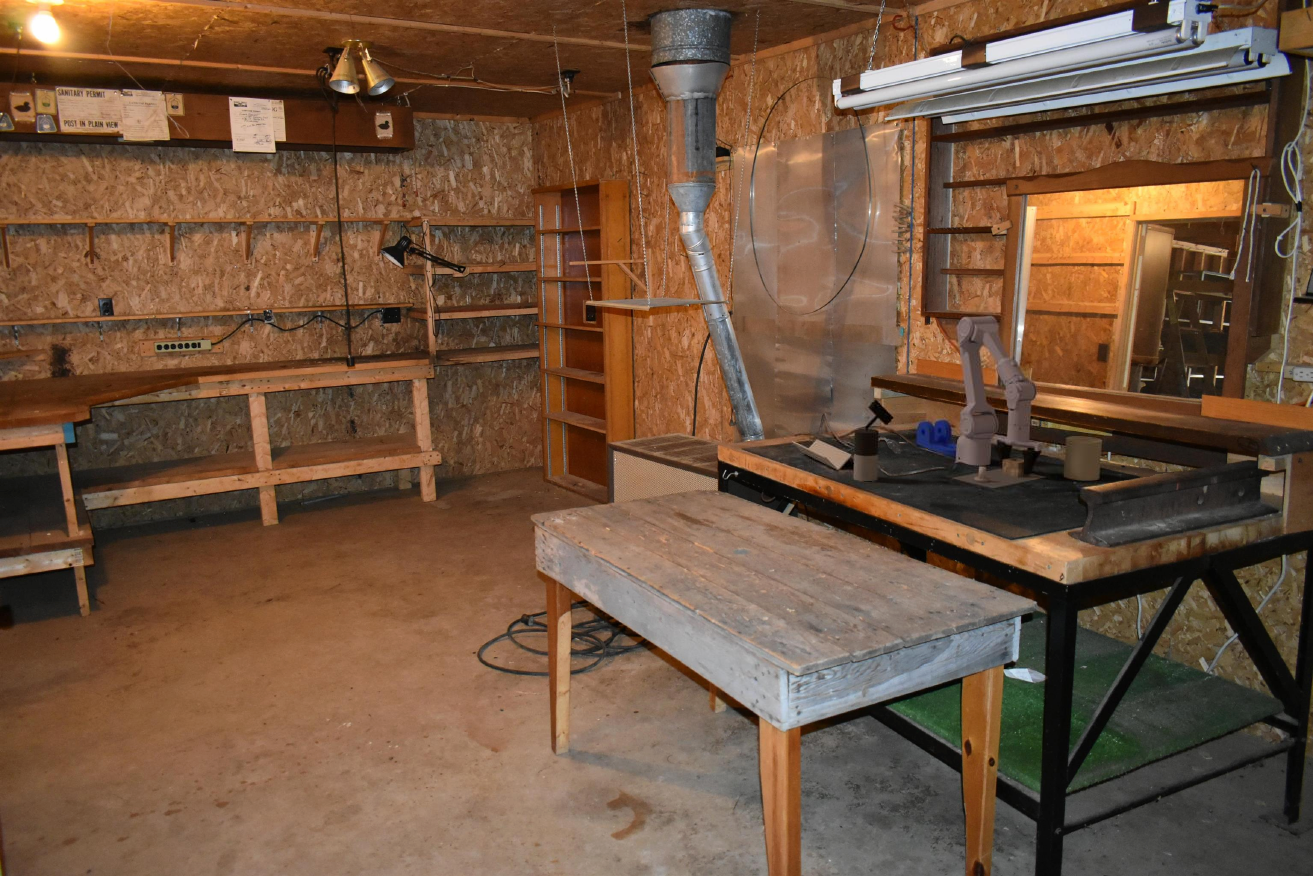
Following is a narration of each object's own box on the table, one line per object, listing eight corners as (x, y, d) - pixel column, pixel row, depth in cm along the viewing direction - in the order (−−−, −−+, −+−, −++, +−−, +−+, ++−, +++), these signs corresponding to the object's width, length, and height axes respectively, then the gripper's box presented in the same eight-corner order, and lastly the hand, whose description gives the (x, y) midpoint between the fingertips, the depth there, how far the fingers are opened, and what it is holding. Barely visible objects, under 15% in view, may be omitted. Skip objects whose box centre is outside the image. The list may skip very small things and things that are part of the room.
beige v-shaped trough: (816, 466, 297) (829, 451, 298) (850, 483, 274) (864, 468, 274) (791, 441, 294) (804, 427, 294) (824, 457, 270) (838, 441, 270)
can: (1078, 485, 249) (1081, 441, 247) (1055, 477, 258) (1058, 435, 256) (1107, 482, 252) (1110, 439, 249) (1083, 475, 260) (1086, 433, 258)
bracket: (916, 447, 303) (917, 420, 302) (938, 445, 306) (939, 418, 304) (949, 457, 286) (950, 429, 285) (972, 455, 289) (973, 427, 287)
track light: (869, 492, 258) (918, 440, 258) (829, 453, 254) (879, 400, 253) (860, 487, 264) (908, 436, 264) (821, 448, 260) (870, 396, 260)
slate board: (951, 481, 256) (952, 464, 255) (1004, 471, 267) (1005, 454, 266) (992, 491, 244) (993, 474, 243) (1046, 480, 255) (1047, 463, 254)
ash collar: (1002, 473, 260) (1002, 459, 259) (1014, 471, 262) (1015, 457, 261) (1017, 477, 255) (1018, 463, 254) (1029, 474, 258) (1030, 460, 257)
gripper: (987, 422, 260) (985, 469, 263) (1031, 429, 248) (1028, 478, 250) (1004, 419, 264) (1002, 465, 266) (1048, 426, 251) (1045, 475, 254)
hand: (1016, 471), depth 258 cm, fingers open, 7 cm apart
